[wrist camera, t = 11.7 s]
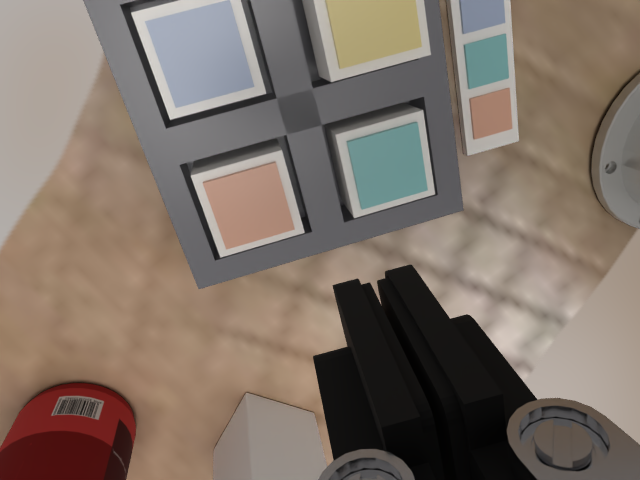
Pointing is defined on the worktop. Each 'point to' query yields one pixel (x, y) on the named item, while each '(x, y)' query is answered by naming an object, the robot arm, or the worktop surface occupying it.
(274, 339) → the worktop surface
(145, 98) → the keypad
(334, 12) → the key mustard
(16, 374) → the worktop surface
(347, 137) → the key teal
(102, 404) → the canned food
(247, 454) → the milk
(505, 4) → the strip
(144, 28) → the key slate
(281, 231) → the key terracotta
